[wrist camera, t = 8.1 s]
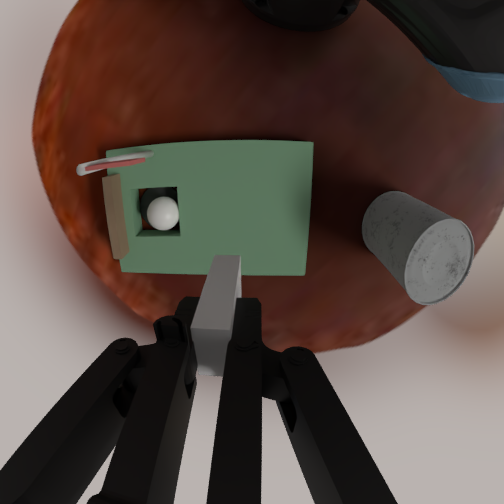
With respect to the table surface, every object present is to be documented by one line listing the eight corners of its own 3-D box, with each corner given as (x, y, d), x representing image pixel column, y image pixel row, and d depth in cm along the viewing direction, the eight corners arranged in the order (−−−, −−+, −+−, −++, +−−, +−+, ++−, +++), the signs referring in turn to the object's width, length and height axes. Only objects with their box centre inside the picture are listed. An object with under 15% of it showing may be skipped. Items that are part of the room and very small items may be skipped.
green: (115, 149, 30) (26, 168, 15) (309, 141, 30) (359, 146, 15) (128, 263, 37) (69, 336, 21) (301, 266, 36) (329, 354, 21)
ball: (145, 201, 28) (180, 197, 30) (145, 196, 32) (176, 192, 33) (149, 236, 30) (183, 231, 31) (148, 227, 33) (179, 223, 35)
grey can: (379, 270, 36) (418, 320, 25) (349, 217, 34) (390, 256, 22) (429, 233, 34) (480, 270, 23) (404, 177, 31) (462, 199, 20)
